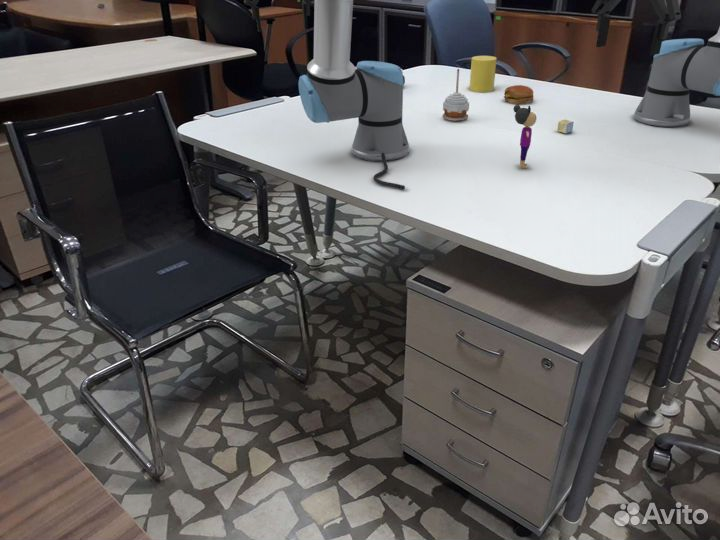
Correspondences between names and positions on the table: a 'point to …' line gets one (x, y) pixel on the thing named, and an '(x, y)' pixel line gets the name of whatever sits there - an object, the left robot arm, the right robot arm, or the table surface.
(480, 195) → the table surface
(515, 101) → the burger
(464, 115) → the cream topped cupcake
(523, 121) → the toy
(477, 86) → the canister
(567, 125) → the alphabet block
